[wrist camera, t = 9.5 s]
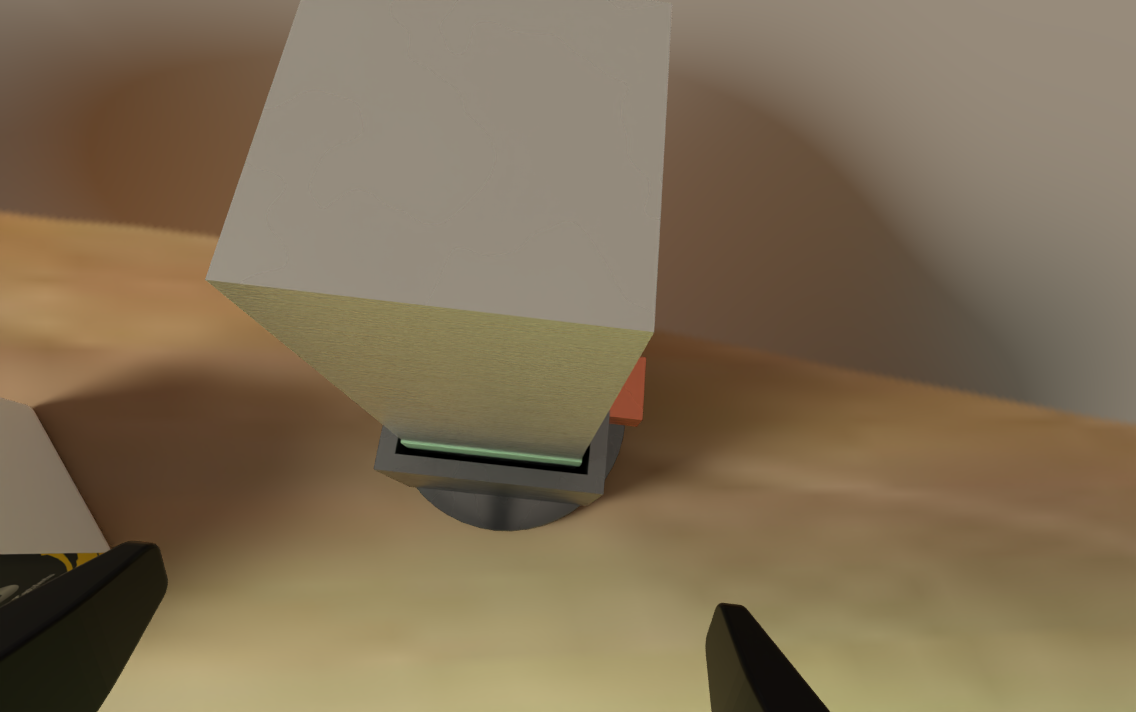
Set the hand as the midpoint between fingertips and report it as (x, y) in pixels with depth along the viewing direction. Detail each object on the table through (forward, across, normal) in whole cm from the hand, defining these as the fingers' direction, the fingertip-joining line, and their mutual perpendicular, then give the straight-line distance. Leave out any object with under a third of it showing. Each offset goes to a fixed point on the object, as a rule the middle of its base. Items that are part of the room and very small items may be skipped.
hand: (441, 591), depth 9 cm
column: (+10, 0, +2) cm, 11 cm away
